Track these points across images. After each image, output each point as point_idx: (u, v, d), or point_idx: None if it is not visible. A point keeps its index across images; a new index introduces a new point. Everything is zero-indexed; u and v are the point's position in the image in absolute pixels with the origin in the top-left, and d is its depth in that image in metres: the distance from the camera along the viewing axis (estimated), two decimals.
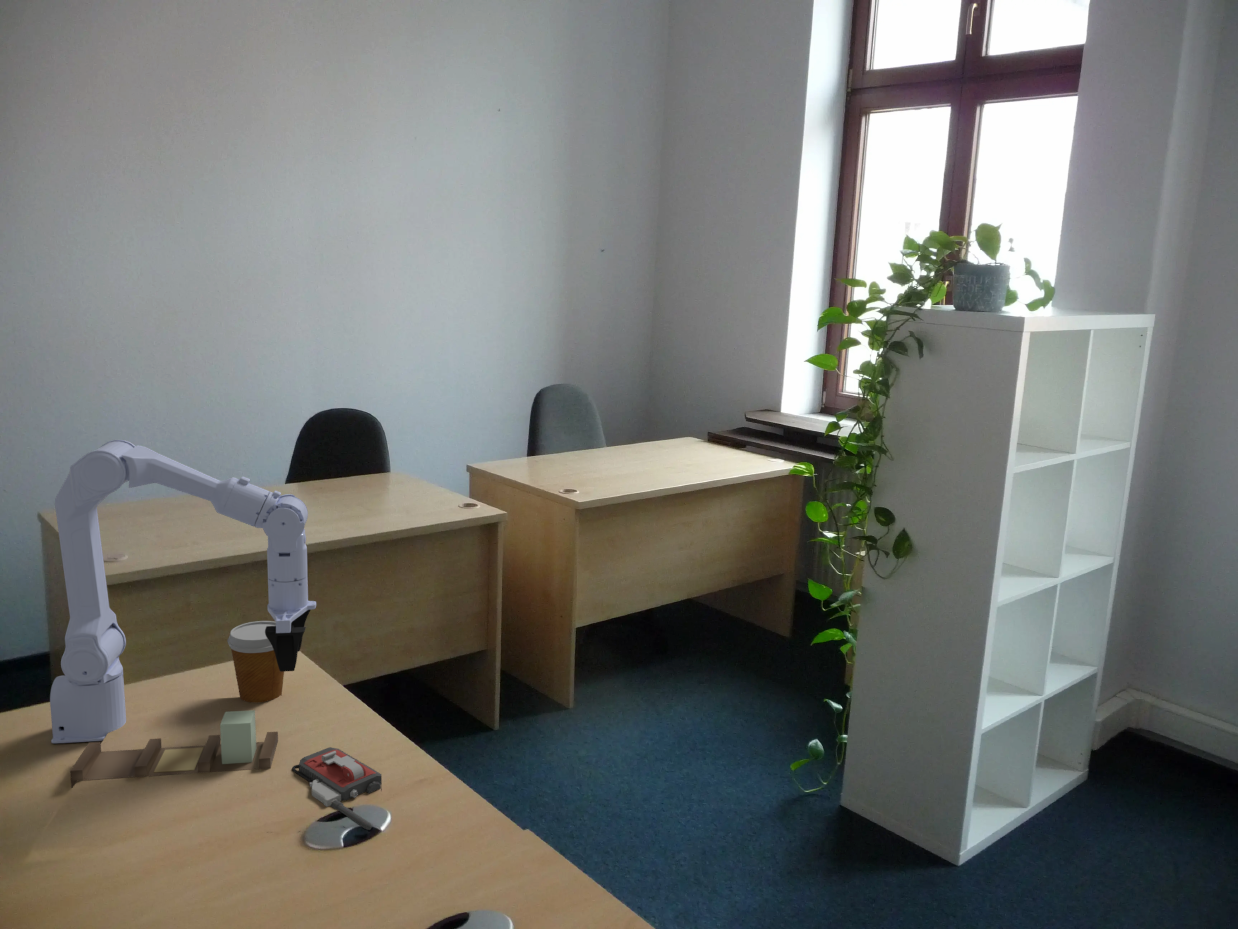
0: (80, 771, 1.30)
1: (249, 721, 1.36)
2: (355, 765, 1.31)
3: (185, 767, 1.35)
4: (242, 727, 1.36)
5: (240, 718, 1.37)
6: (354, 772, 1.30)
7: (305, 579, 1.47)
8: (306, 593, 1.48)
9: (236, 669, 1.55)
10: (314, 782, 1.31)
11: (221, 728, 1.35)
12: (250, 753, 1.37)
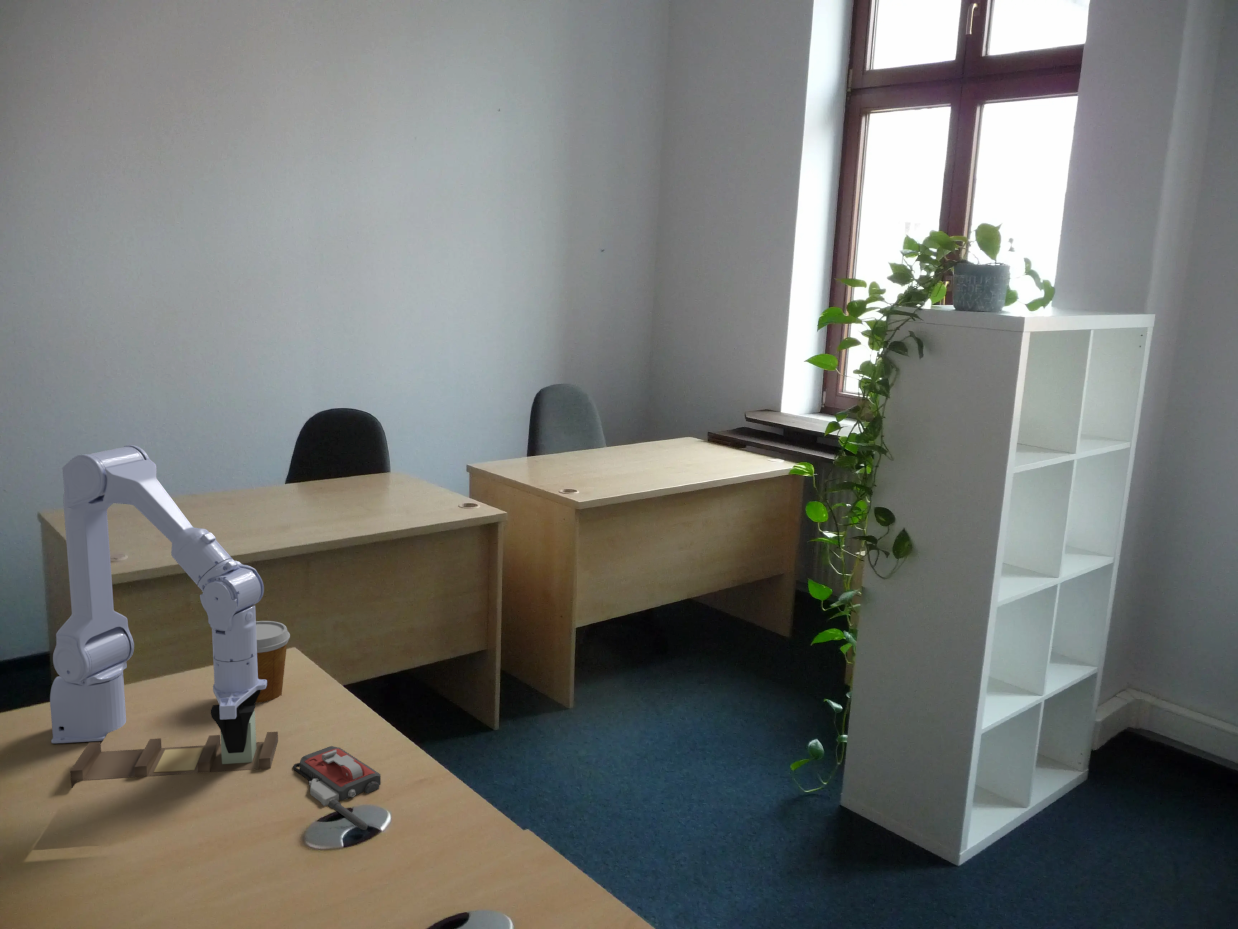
0: (80, 771, 1.30)
1: (249, 721, 1.36)
2: (354, 765, 1.32)
3: (185, 767, 1.35)
4: None
5: None
6: (353, 772, 1.30)
7: (254, 657, 1.35)
8: (255, 672, 1.36)
9: None
10: (313, 781, 1.31)
11: None
12: (250, 753, 1.37)
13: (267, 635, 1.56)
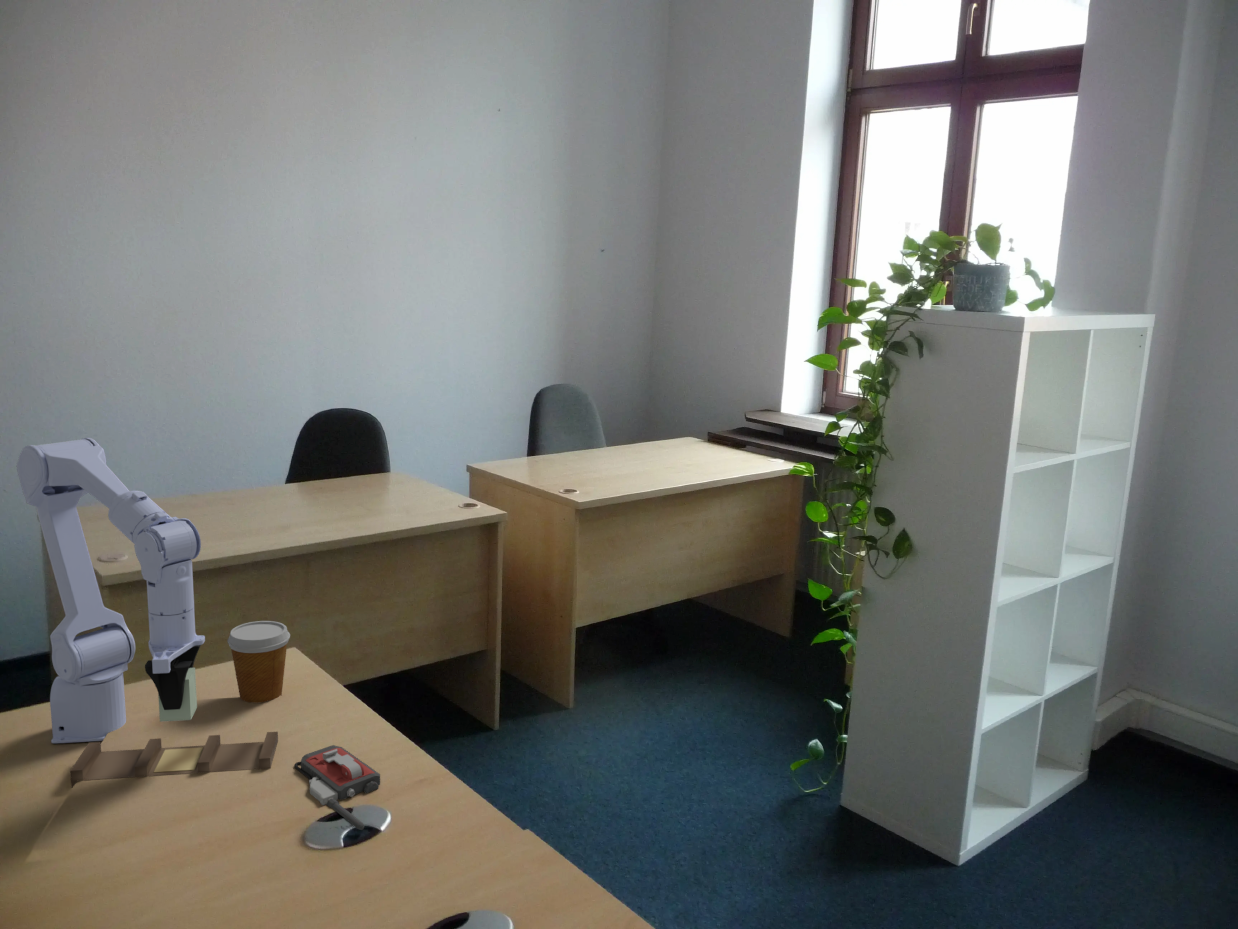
0: (80, 771, 1.30)
1: (187, 677, 1.33)
2: (354, 764, 1.32)
3: (185, 767, 1.35)
4: None
5: None
6: (352, 771, 1.30)
7: (190, 612, 1.32)
8: (192, 627, 1.33)
9: (236, 669, 1.55)
10: (313, 780, 1.31)
11: None
12: (189, 710, 1.34)
13: (267, 635, 1.56)
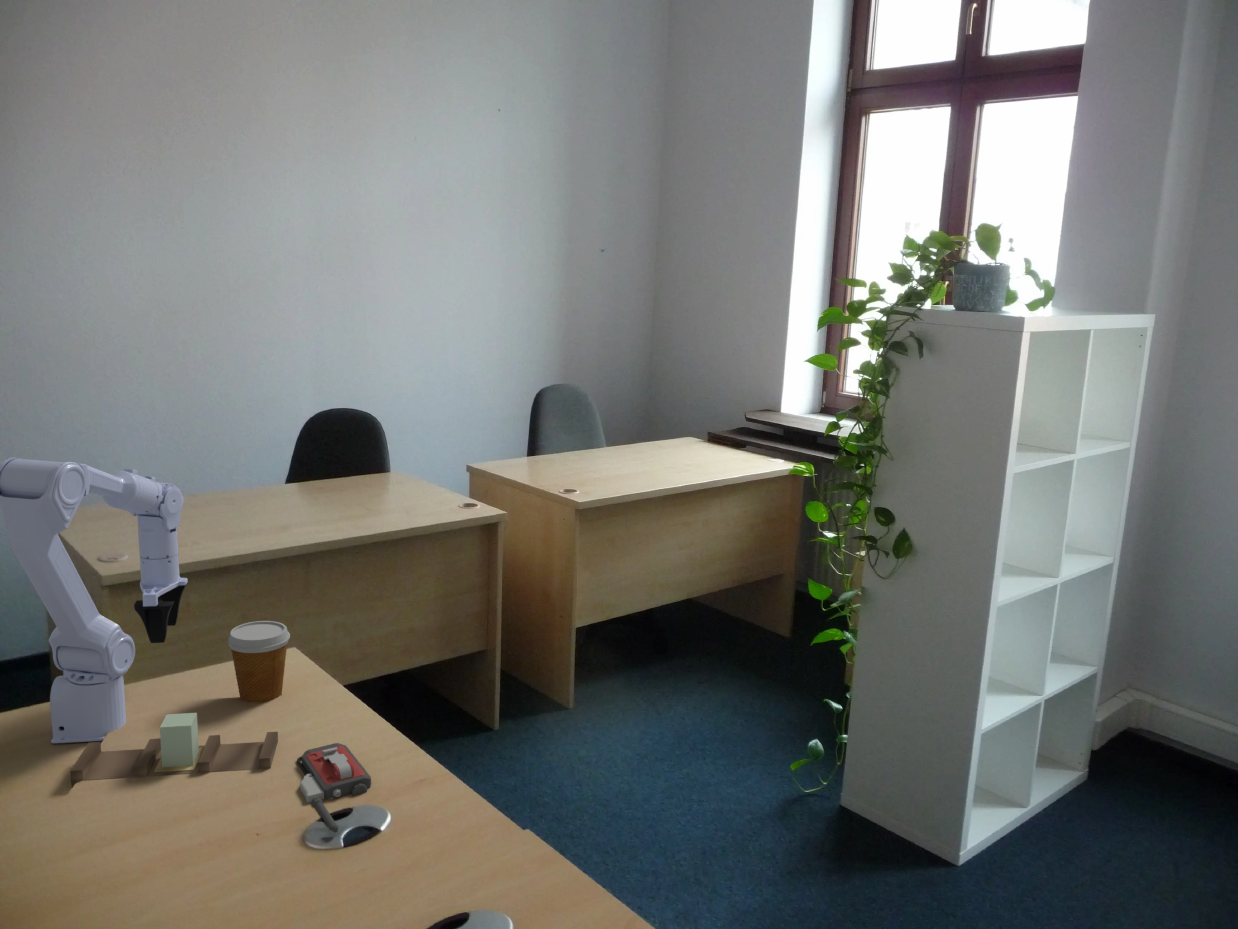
0: (80, 771, 1.30)
1: (190, 723, 1.35)
2: (345, 764, 1.31)
3: (185, 767, 1.35)
4: (182, 730, 1.34)
5: (180, 720, 1.36)
6: (341, 771, 1.30)
7: (175, 557, 1.57)
8: (176, 570, 1.58)
9: (236, 669, 1.55)
10: (306, 776, 1.32)
11: (161, 731, 1.33)
12: (191, 756, 1.35)
13: (267, 635, 1.56)
